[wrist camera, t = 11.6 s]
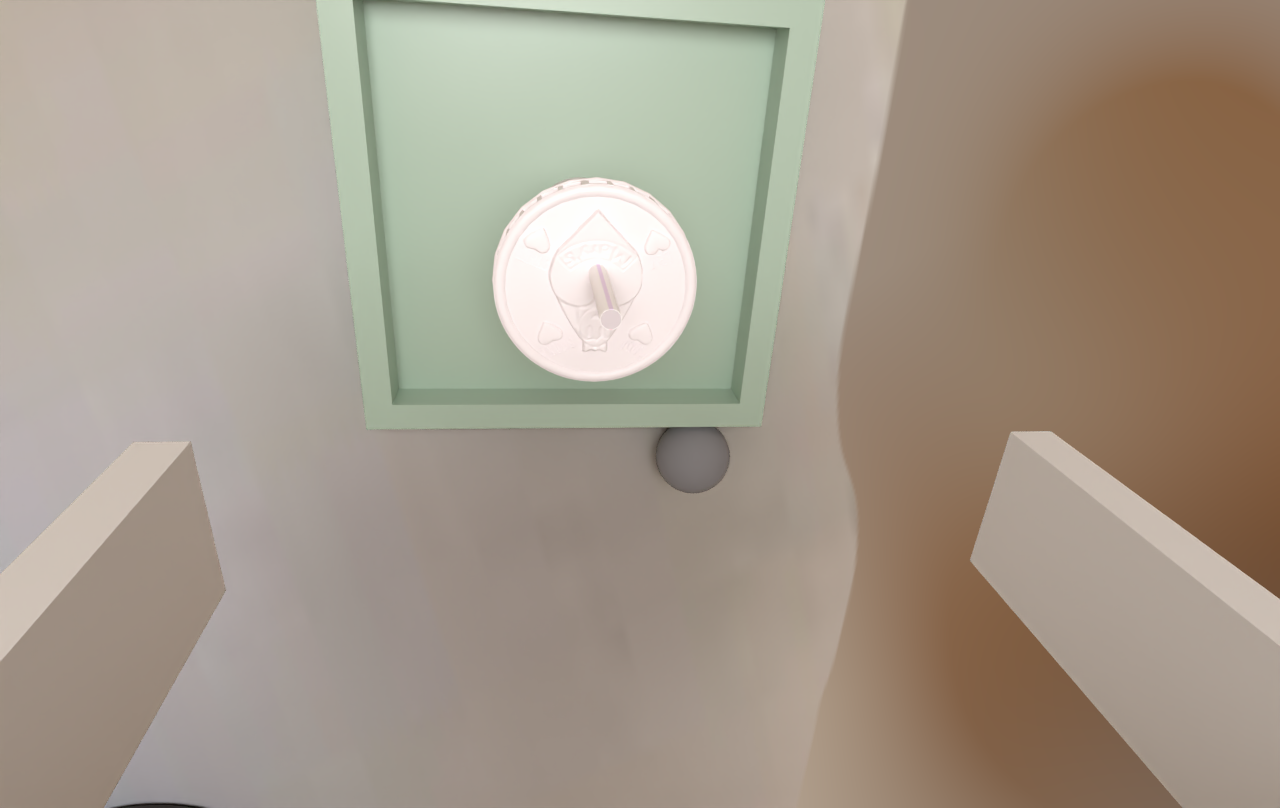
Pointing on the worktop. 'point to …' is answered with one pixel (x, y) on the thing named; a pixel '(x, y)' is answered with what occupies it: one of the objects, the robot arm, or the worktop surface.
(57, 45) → the worktop surface
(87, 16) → the worktop surface
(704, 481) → the gray ball
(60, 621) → the robot arm
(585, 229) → the smoothie
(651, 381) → the tray
